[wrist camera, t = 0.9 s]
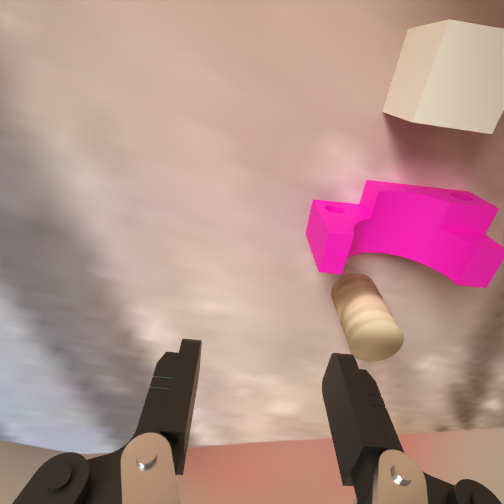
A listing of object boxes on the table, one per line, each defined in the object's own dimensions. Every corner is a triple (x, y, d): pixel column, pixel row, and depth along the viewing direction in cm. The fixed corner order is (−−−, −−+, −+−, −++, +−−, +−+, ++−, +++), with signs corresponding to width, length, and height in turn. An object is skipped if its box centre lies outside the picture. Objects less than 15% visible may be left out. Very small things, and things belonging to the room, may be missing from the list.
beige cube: (408, 28, 25) (449, 19, 20) (480, 41, 26) (539, 34, 20) (382, 111, 28) (412, 122, 23) (447, 121, 29) (492, 134, 23)
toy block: (468, 191, 32) (524, 223, 25) (442, 246, 35) (486, 287, 28) (318, 173, 31) (337, 202, 24) (305, 232, 34) (318, 272, 27)
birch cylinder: (337, 271, 36) (358, 320, 29) (380, 276, 37) (411, 325, 30) (326, 306, 39) (343, 359, 32) (367, 310, 39) (392, 363, 32)
